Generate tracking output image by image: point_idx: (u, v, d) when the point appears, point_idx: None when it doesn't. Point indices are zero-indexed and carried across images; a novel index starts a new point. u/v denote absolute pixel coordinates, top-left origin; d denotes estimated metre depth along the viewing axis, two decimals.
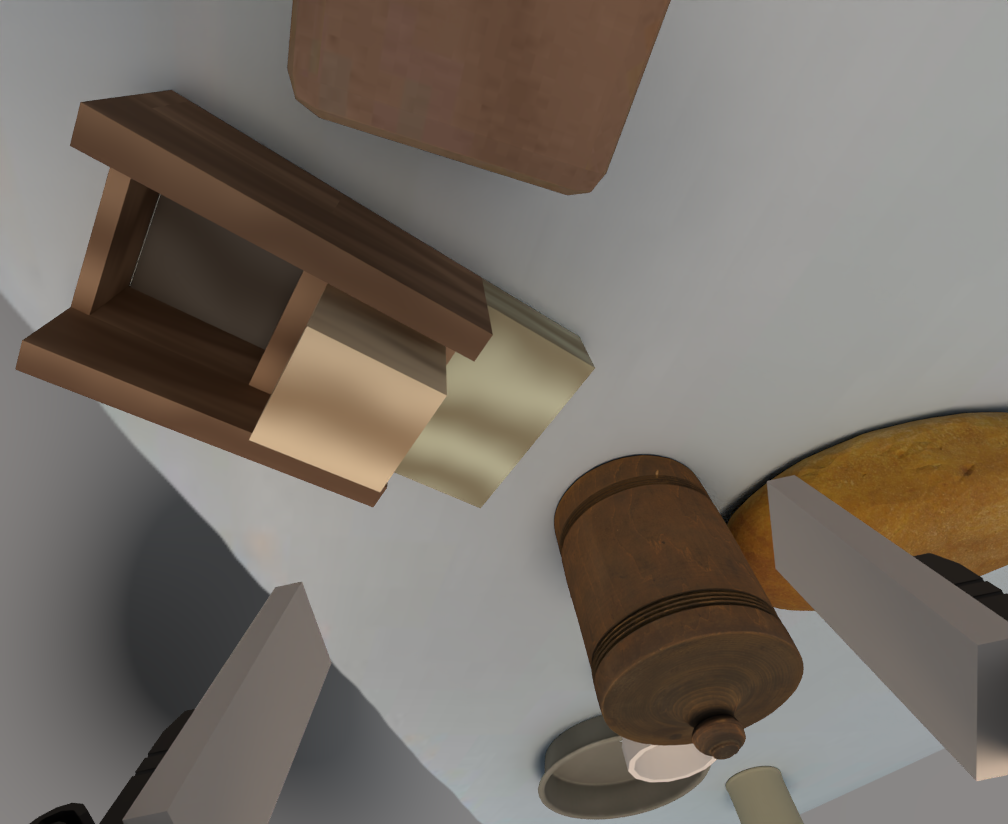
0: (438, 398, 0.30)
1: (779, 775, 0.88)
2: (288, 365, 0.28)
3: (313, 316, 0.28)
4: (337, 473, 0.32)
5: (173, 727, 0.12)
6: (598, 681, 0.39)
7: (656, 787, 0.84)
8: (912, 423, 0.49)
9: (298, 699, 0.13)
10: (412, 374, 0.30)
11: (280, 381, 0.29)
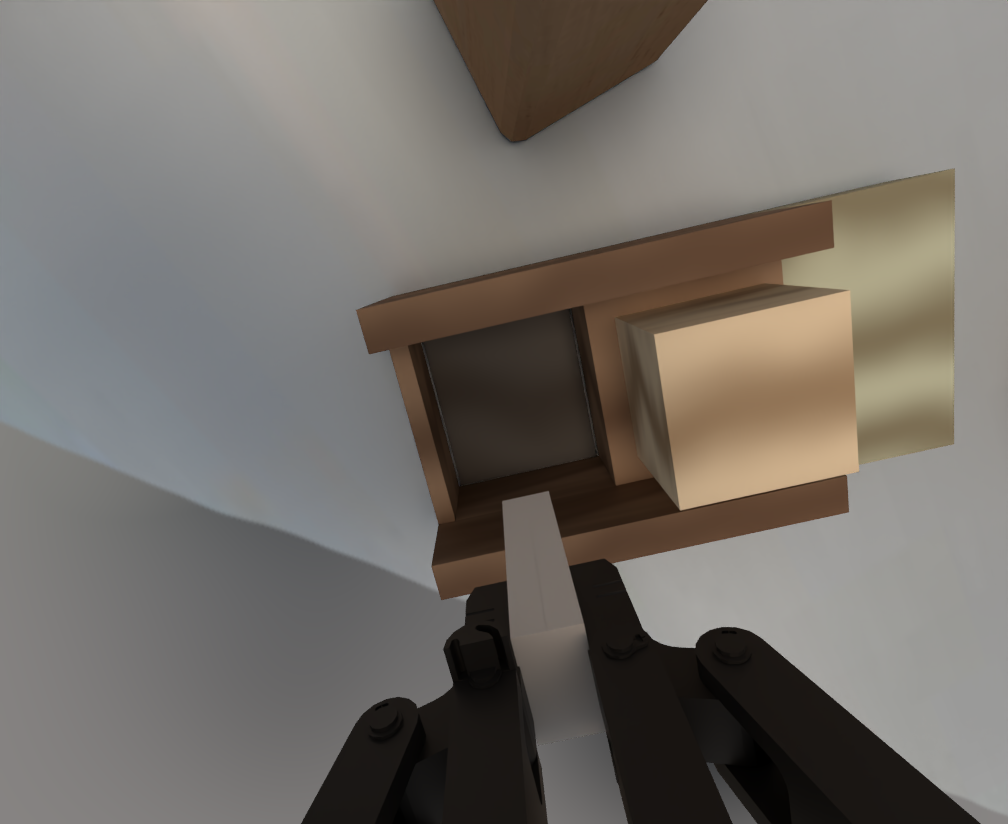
0: (843, 301, 0.22)
1: None
2: (664, 393, 0.23)
3: (646, 330, 0.23)
4: (795, 482, 0.24)
5: (473, 597, 0.14)
6: None
7: None
8: None
9: None
10: (790, 301, 0.22)
11: (668, 417, 0.23)
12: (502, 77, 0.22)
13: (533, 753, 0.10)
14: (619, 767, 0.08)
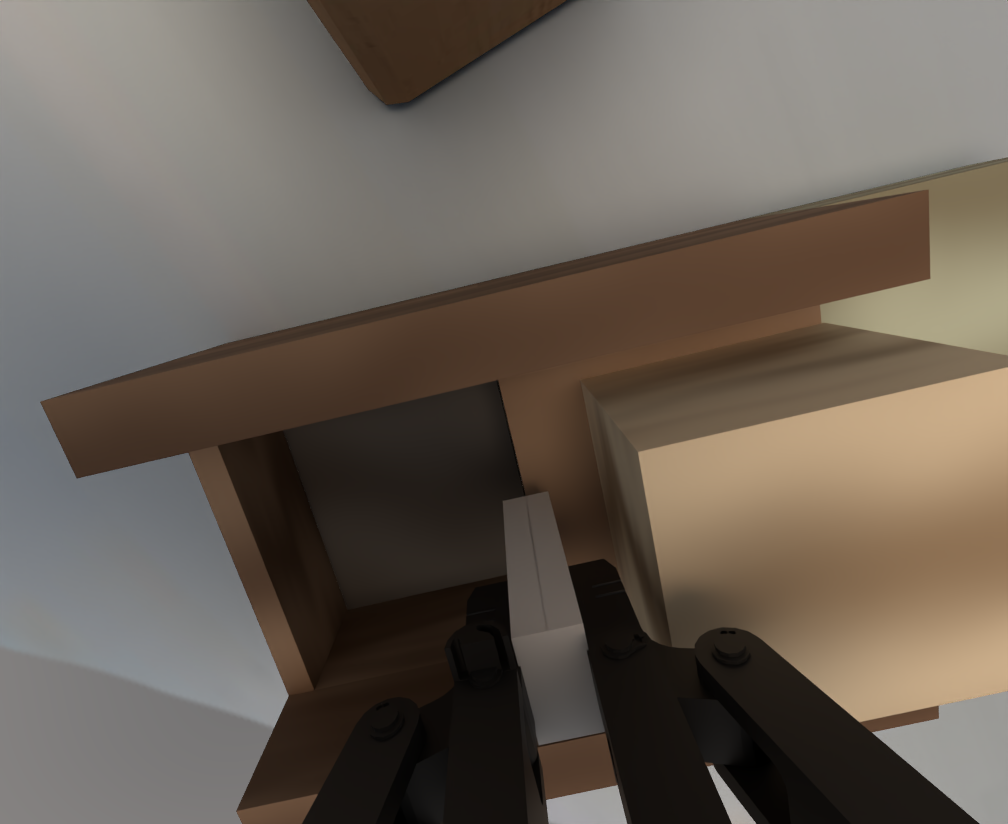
0: None
1: None
2: (660, 559, 0.12)
3: (625, 431, 0.12)
4: (906, 707, 0.13)
5: (474, 597, 0.14)
6: None
7: None
8: None
9: None
10: (909, 380, 0.11)
11: (668, 602, 0.12)
12: None
13: (534, 754, 0.10)
14: (618, 767, 0.08)
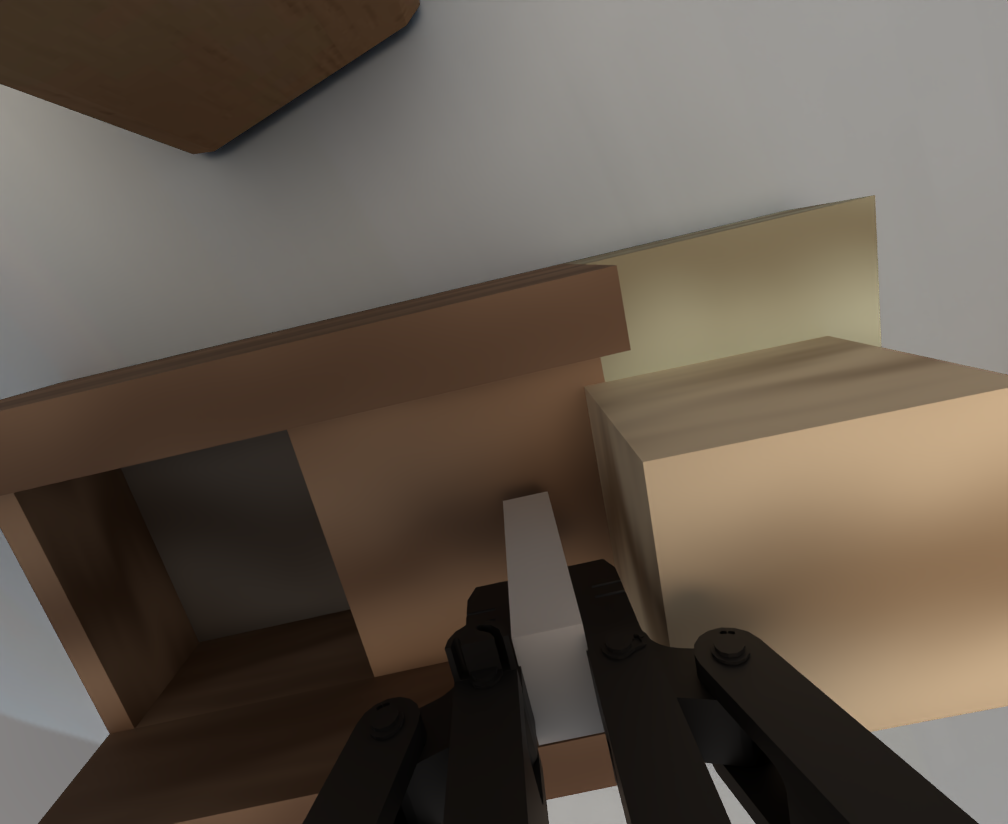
0: None
1: None
2: (661, 569, 0.12)
3: (630, 441, 0.12)
4: (901, 721, 0.13)
5: (474, 597, 0.14)
6: None
7: None
8: None
9: None
10: (912, 398, 0.11)
11: (668, 612, 0.12)
12: None
13: (535, 753, 0.10)
14: (618, 767, 0.08)
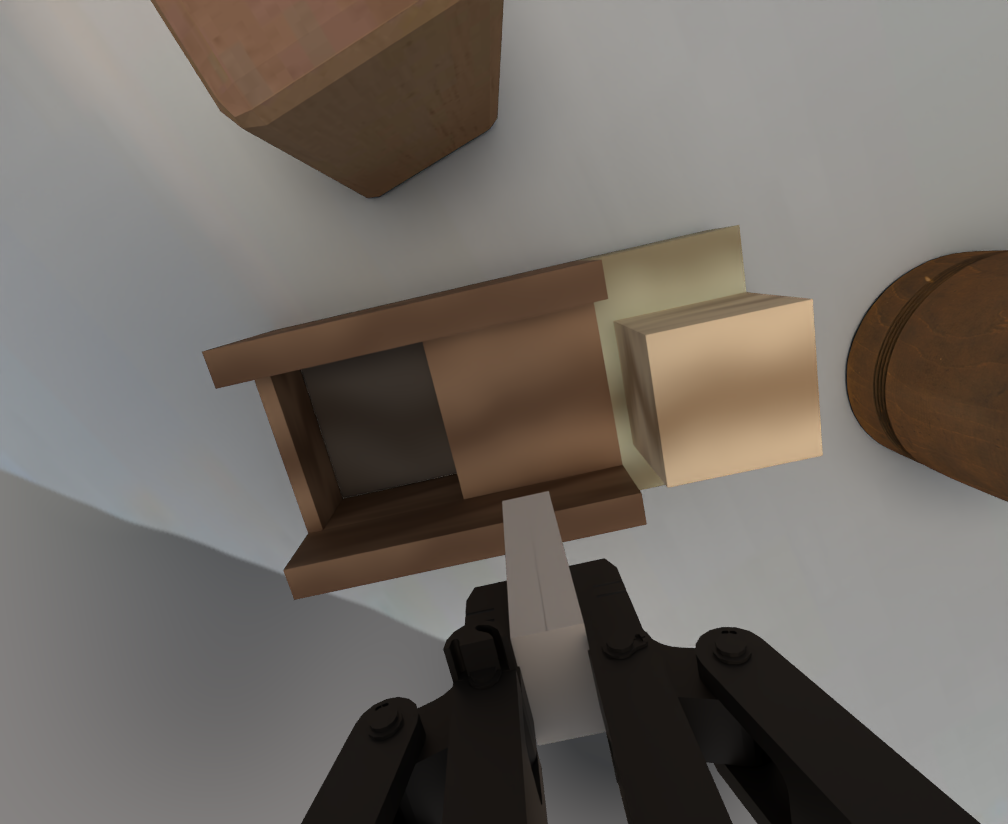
0: (806, 308, 0.26)
1: None
2: (654, 385, 0.27)
3: (639, 331, 0.27)
4: (767, 464, 0.28)
5: (473, 597, 0.14)
6: None
7: None
8: None
9: None
10: (762, 308, 0.26)
11: (657, 406, 0.27)
12: None
13: (533, 753, 0.10)
14: (619, 767, 0.08)
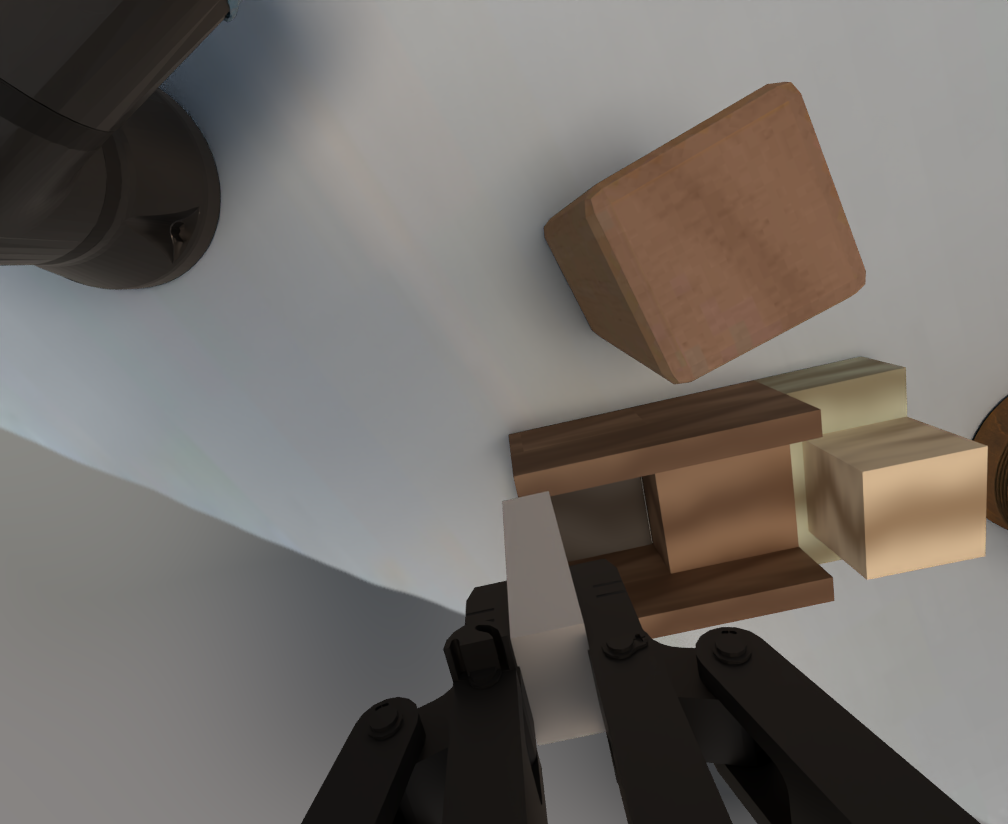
0: (982, 452, 0.35)
1: None
2: (865, 507, 0.36)
3: (850, 464, 0.36)
4: (943, 562, 0.37)
5: (473, 597, 0.14)
6: None
7: None
8: None
9: None
10: (947, 450, 0.35)
11: (865, 522, 0.36)
12: (614, 341, 0.35)
13: (534, 753, 0.10)
14: (619, 767, 0.08)
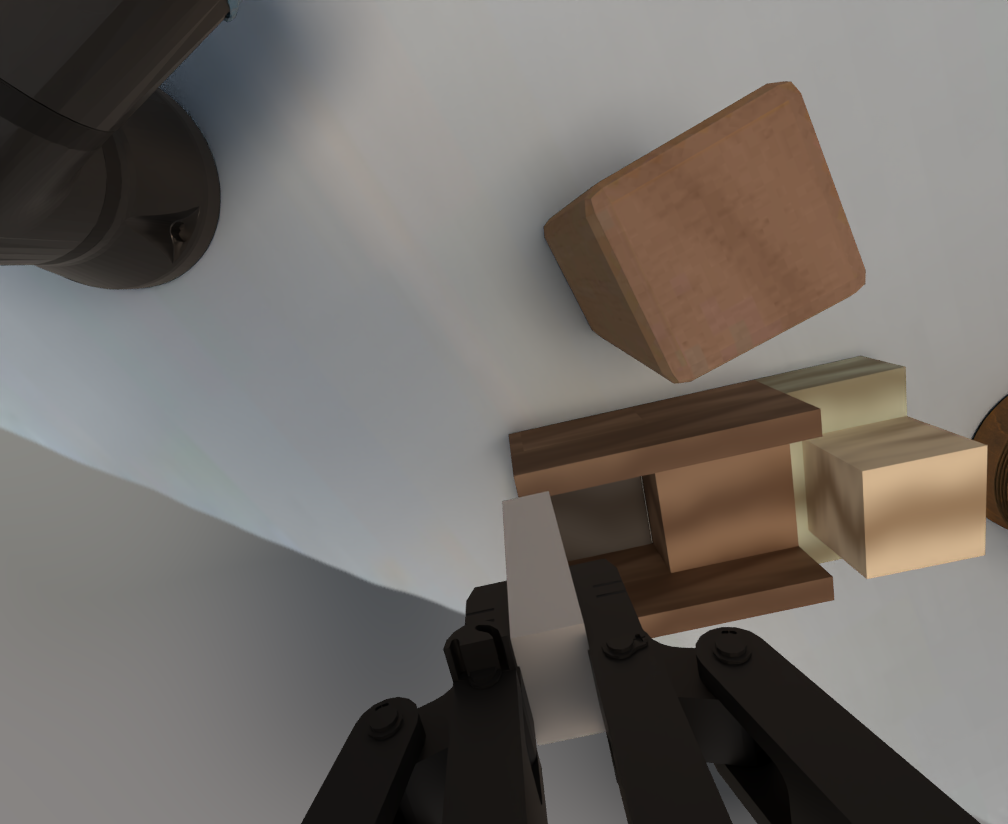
0: (982, 452, 0.35)
1: None
2: (864, 506, 0.36)
3: (850, 463, 0.36)
4: (943, 562, 0.37)
5: (473, 597, 0.14)
6: None
7: None
8: None
9: None
10: (947, 450, 0.35)
11: (865, 521, 0.36)
12: (614, 341, 0.35)
13: (533, 754, 0.10)
14: (619, 767, 0.08)
